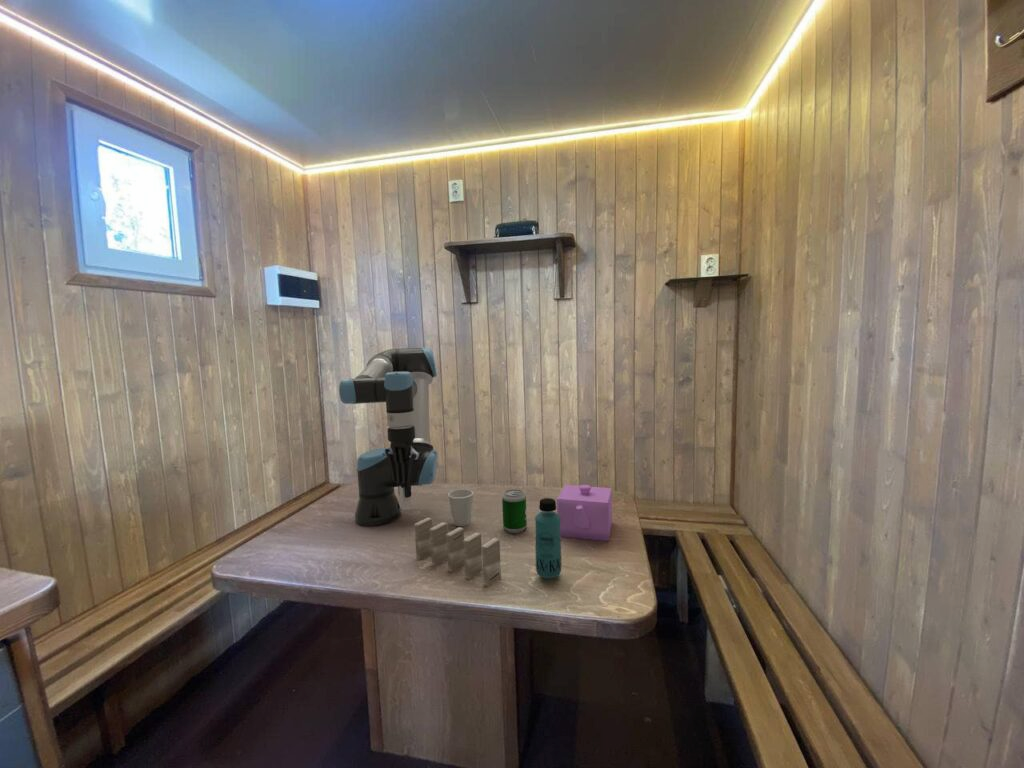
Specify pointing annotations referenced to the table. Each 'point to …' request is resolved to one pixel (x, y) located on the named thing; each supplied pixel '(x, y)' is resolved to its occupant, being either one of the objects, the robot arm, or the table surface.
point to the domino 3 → (455, 549)
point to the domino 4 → (472, 555)
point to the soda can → (514, 511)
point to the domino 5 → (491, 562)
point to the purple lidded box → (585, 512)
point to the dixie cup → (461, 506)
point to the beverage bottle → (548, 540)
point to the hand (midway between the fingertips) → (405, 507)
